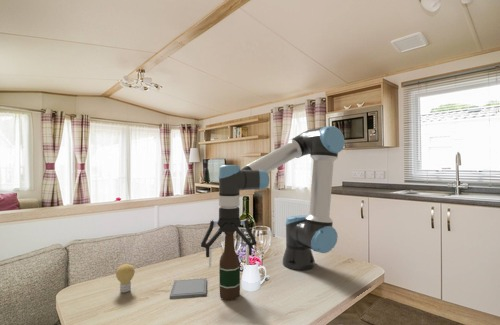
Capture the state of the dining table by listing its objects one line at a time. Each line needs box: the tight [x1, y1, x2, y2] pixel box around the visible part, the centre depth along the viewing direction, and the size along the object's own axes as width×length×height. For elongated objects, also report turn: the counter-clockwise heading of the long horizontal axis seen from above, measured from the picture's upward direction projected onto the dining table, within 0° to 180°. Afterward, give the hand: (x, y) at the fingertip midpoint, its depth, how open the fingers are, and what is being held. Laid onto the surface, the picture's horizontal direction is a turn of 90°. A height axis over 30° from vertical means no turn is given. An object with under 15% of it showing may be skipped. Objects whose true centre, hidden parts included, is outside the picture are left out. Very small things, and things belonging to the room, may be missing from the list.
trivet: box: [169, 277, 208, 299], centre depth 102 cm, size 13×13×1 cm
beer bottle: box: [218, 231, 241, 302], centre depth 96 cm, size 8×8×24 cm
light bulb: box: [115, 263, 136, 294], centre depth 100 cm, size 6×6×10 cm
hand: (228, 264), depth 96 cm, fingers open, 13 cm apart
